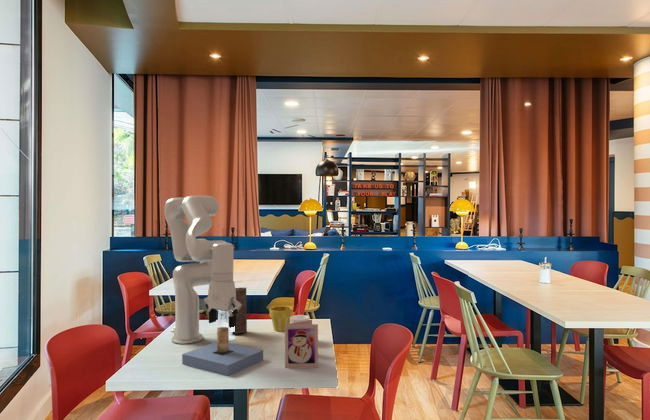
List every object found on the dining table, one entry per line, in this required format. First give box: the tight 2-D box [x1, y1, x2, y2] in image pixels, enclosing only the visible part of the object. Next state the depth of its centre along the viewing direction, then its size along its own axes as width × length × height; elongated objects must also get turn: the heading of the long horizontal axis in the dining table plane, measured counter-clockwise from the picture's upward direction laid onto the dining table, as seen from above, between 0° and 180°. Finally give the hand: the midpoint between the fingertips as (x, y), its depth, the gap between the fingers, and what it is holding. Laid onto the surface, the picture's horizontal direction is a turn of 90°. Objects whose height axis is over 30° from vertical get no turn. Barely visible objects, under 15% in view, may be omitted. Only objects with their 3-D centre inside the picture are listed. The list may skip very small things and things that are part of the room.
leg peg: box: [216, 326, 230, 356], centre depth 160 cm, size 4×4×12 cm
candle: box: [234, 287, 248, 334], centre depth 196 cm, size 8×7×20 cm
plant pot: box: [269, 305, 294, 333], centre depth 201 cm, size 10×10×10 cm
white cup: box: [290, 314, 310, 324], centre depth 184 cm, size 8×8×10 cm
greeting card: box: [284, 319, 319, 369], centre depth 156 cm, size 11×7×15 cm, turn 91°
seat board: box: [181, 341, 264, 377], centre depth 160 cm, size 22×18×4 cm
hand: (222, 324), depth 160 cm, fingers open, 9 cm apart
